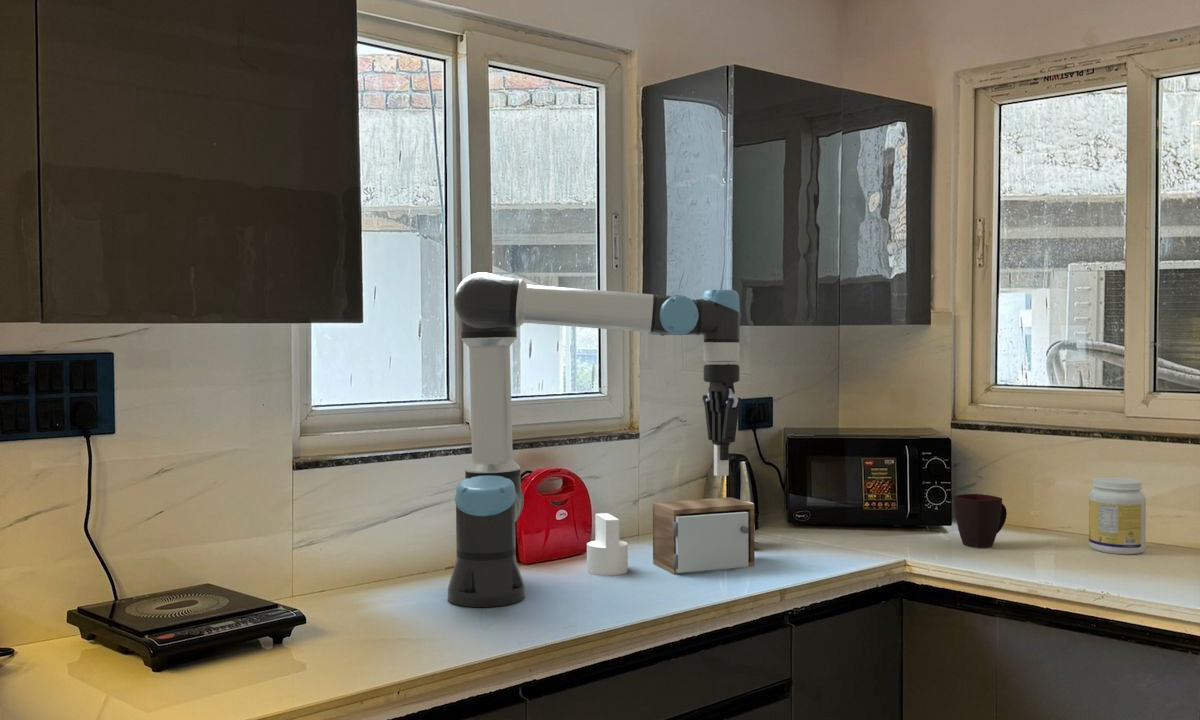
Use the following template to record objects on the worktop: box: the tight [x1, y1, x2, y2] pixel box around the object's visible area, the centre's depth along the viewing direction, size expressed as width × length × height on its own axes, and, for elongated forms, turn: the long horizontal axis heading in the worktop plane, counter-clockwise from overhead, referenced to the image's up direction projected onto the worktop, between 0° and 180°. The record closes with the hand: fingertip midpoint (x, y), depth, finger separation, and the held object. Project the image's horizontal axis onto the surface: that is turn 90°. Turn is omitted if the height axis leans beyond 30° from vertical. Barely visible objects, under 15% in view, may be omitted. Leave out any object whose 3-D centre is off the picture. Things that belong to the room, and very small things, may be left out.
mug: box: [953, 493, 1008, 549], centre depth 248 cm, size 10×14×12 cm
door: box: [673, 512, 749, 574], centre depth 219 cm, size 18×3×12 cm, turn 110°
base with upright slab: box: [586, 512, 629, 576], centre depth 222 cm, size 9×9×12 cm
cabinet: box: [652, 497, 756, 575], centre depth 227 cm, size 20×11×14 cm, turn 111°
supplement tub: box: [1088, 476, 1147, 555], centre depth 241 cm, size 12×12×17 cm
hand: (721, 475), depth 211 cm, fingers closed
